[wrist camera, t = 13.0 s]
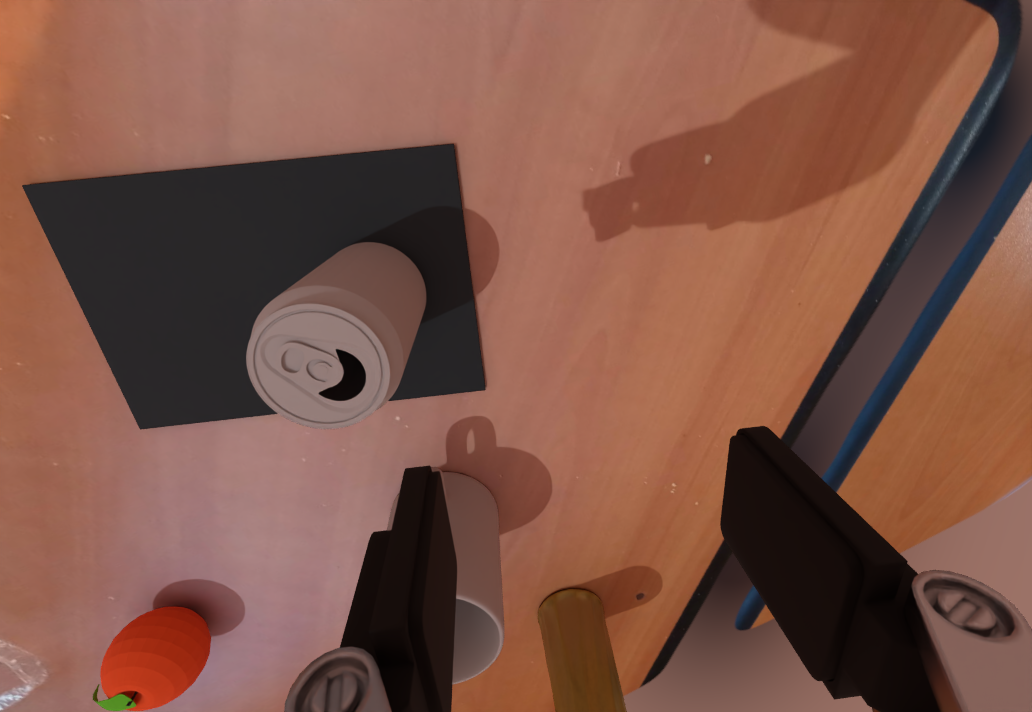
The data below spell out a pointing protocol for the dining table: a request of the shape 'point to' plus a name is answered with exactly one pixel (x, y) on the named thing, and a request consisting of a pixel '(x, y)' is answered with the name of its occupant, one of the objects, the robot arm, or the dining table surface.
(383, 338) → the beverage can
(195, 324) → the mat
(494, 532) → the mug
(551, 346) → the dining table surface
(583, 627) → the vase
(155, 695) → the clementine
